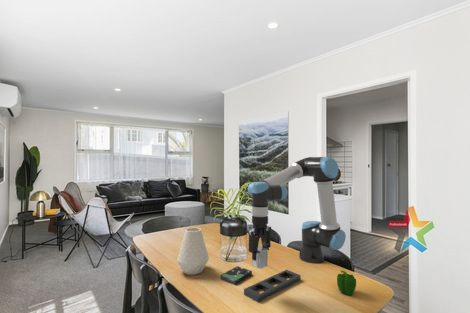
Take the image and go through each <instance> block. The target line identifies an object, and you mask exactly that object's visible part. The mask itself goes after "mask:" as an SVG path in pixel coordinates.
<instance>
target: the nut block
mask: <svg viewBox="0 0 470 313" xmlns="http://www.w3.org/2000/svg"><path fill="white" fill-rule="evenodd" d="M268 251H269V250H268V249H267V248H264V247H262V245H261V246H260V245H258V249H257V253H258V268H257V269H259V270H261V269H263V268H266V267H268V255H269V254H268ZM251 260H252V259H251ZM251 264H252V265H251V266H252V267H254V266H253V260H252V262H251Z"/></svg>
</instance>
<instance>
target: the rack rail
mask: <svg viewBox="0 0 470 313" xmlns="http://www.w3.org/2000/svg"><path fill="white" fill-rule="evenodd" d="M286 278H288V279H286ZM300 281H301V274H299V273H296V272H293V271H291V270H289V269H285V270H283V271H280V272H279V273H276V274H273V275H272V276H270V277H268V278H265V279H263V280H260V281H258V282H256V283H253V284H252V285H250V286H248V287H245V288H243V295H244V296H246V297H248V298H249V299H251V300H253V301H255V302H256V303H260V302H262V301H263V300H266V299H268V298H270V297H272V296H273V295H275V294H277V293H279V292H281V291H283V290H285V289H286V288H288V287H290V286H292V285H294V284H295V283H298V282H300ZM272 283H273V284H276V285H273V284H272ZM258 290H261V291H262V292H258Z"/></svg>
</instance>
